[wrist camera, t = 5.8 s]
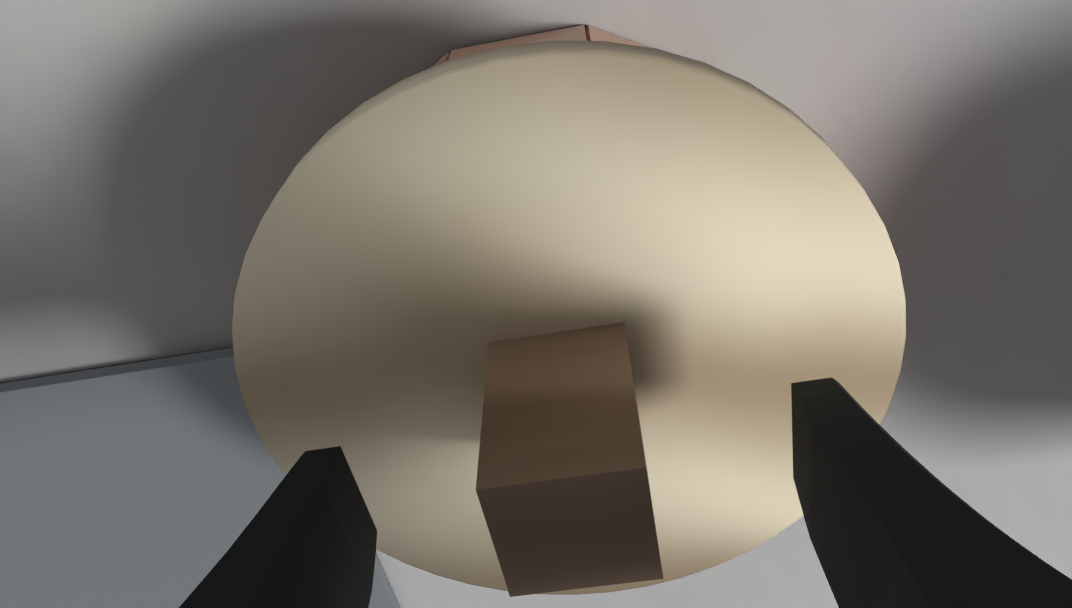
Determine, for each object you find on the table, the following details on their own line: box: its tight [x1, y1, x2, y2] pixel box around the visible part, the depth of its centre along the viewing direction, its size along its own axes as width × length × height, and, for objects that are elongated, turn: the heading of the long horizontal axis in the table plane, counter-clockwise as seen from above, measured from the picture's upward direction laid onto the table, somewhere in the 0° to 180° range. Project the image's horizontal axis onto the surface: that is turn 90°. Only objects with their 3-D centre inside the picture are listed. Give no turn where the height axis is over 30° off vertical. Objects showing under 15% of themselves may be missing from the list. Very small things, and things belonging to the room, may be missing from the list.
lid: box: [232, 40, 906, 597], centre depth 14 cm, size 12×12×4 cm
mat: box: [0, 347, 400, 608], centre depth 23 cm, size 12×12×1 cm
